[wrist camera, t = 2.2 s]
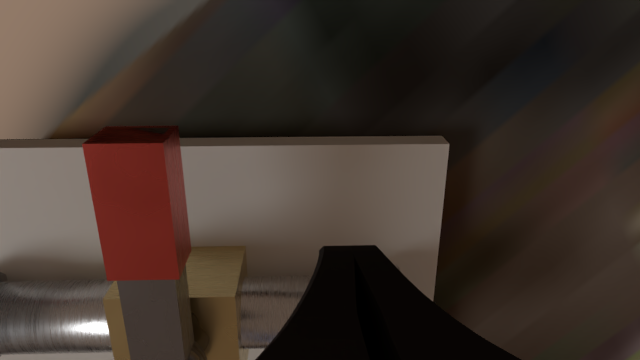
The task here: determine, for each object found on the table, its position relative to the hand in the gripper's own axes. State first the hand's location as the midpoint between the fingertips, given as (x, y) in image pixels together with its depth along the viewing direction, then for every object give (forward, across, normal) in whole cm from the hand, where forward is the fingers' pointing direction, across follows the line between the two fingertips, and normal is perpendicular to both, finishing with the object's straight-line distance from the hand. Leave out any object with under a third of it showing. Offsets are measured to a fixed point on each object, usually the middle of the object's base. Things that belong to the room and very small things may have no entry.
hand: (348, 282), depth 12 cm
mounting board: (+10, +6, +6) cm, 14 cm away
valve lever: (+5, +6, +3) cm, 8 cm away
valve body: (+10, +6, +6) cm, 14 cm away
